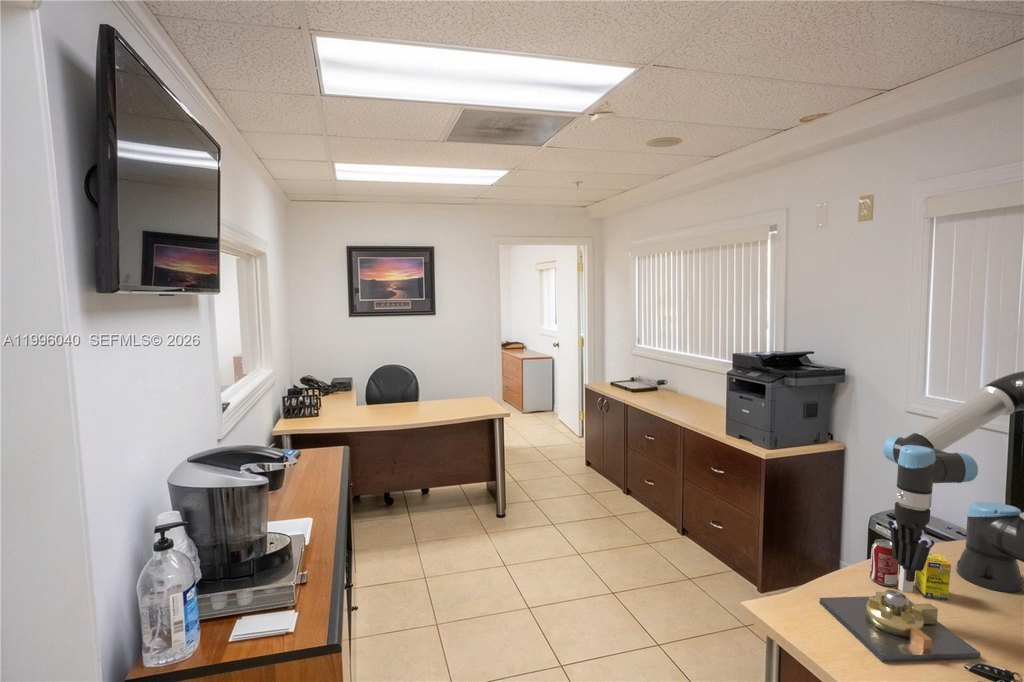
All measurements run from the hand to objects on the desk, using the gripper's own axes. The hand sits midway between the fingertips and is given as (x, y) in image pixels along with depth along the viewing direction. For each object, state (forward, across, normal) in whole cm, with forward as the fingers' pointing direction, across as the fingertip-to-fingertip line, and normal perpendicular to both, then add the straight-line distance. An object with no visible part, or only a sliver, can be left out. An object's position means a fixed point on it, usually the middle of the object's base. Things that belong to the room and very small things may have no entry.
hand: (905, 590), depth 143 cm
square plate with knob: (+8, +5, -6) cm, 11 cm away
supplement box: (+7, -10, +16) cm, 21 cm away
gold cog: (+6, +5, -4) cm, 9 cm away
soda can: (+8, -17, +8) cm, 20 cm away
